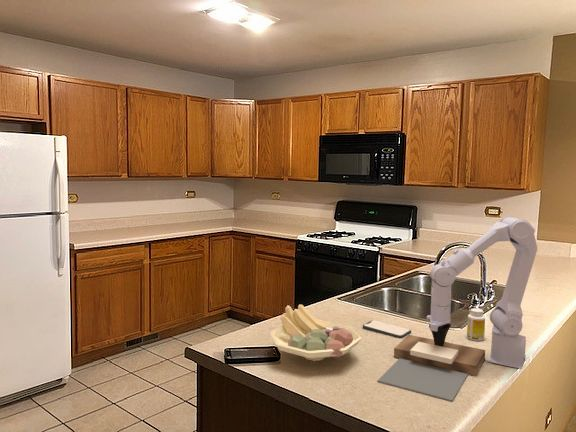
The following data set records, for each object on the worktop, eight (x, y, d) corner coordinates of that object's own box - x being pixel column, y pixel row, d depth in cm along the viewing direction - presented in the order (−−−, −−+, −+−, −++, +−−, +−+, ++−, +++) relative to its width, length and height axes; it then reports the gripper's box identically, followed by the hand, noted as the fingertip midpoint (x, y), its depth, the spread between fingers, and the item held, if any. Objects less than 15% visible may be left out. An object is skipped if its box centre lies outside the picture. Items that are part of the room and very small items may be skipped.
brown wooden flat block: (484, 359, 143) (485, 350, 143) (475, 376, 132) (476, 366, 131) (408, 343, 156) (408, 334, 156) (393, 357, 145) (394, 348, 144)
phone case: (412, 334, 167) (373, 323, 177) (412, 329, 167) (373, 319, 177) (401, 340, 160) (361, 329, 171) (401, 336, 160) (361, 325, 170)
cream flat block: (458, 354, 139) (458, 349, 139) (451, 364, 133) (451, 359, 133) (418, 346, 146) (418, 341, 146) (410, 354, 139) (410, 350, 139)
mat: (467, 375, 132) (467, 373, 132) (452, 401, 117) (452, 400, 117) (399, 359, 143) (399, 358, 143) (377, 381, 128) (377, 380, 128)
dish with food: (290, 332, 164) (290, 293, 161) (369, 345, 153) (370, 304, 151) (254, 368, 138) (253, 323, 136) (346, 387, 127) (346, 338, 125)
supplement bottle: (487, 339, 160) (489, 310, 159) (476, 342, 157) (478, 313, 156) (474, 334, 165) (475, 306, 164) (463, 337, 162) (464, 308, 161)
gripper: (434, 296, 150) (432, 337, 151) (420, 307, 138) (418, 351, 139) (456, 300, 146) (455, 341, 148) (444, 311, 134) (442, 357, 135)
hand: (439, 347), depth 143 cm, fingers closed
